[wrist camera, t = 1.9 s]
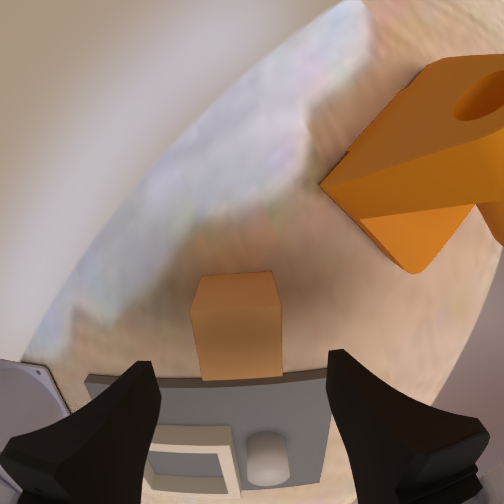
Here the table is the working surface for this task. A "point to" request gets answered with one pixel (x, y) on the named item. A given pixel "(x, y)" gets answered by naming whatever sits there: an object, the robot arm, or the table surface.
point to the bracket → (429, 161)
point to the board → (235, 434)
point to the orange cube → (238, 326)
